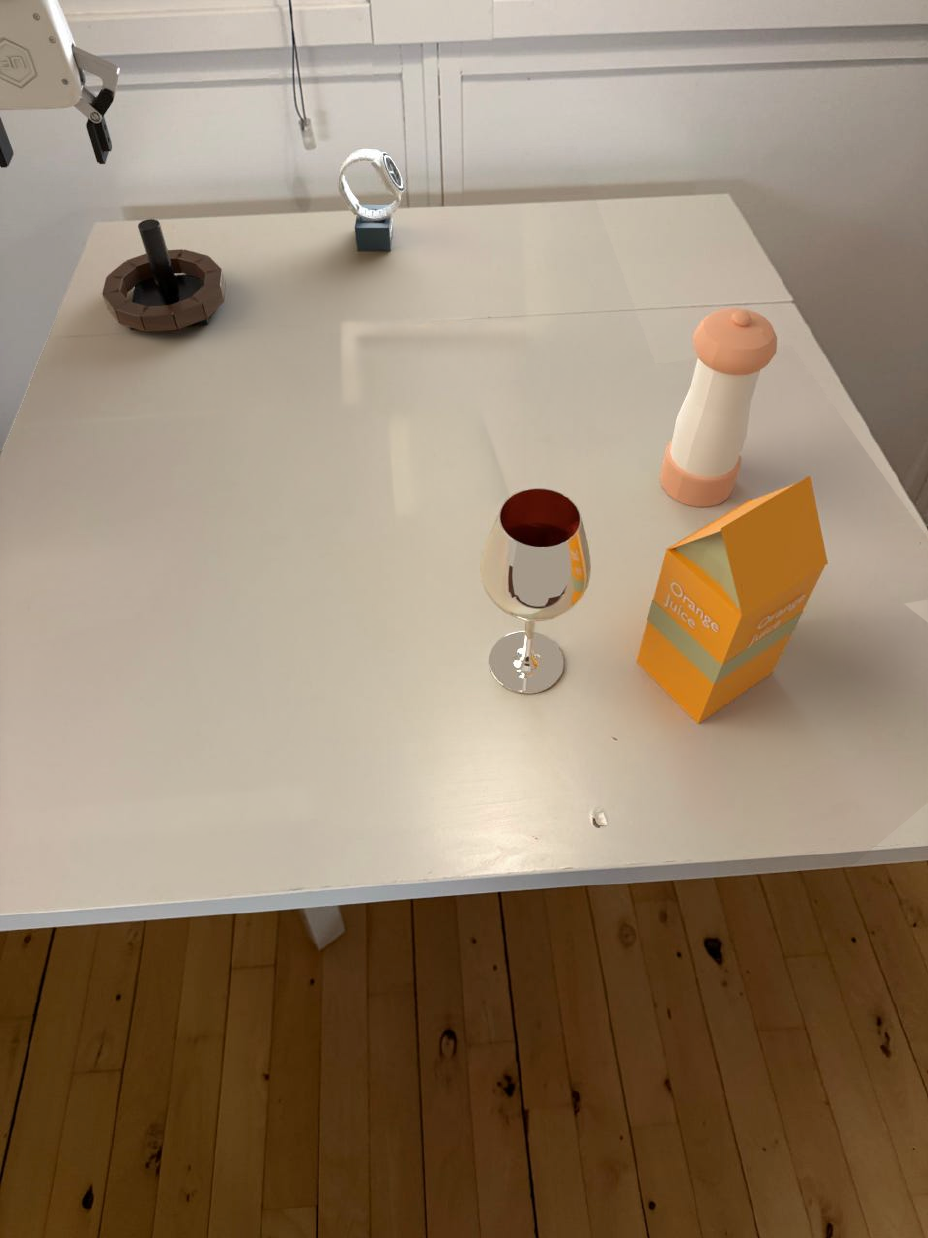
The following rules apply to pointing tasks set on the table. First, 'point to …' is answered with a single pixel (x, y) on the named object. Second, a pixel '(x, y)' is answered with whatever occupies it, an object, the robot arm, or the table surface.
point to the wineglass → (534, 582)
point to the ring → (165, 315)
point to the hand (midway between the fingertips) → (55, 159)
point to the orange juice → (733, 599)
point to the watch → (373, 219)
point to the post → (162, 273)
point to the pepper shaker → (717, 406)
